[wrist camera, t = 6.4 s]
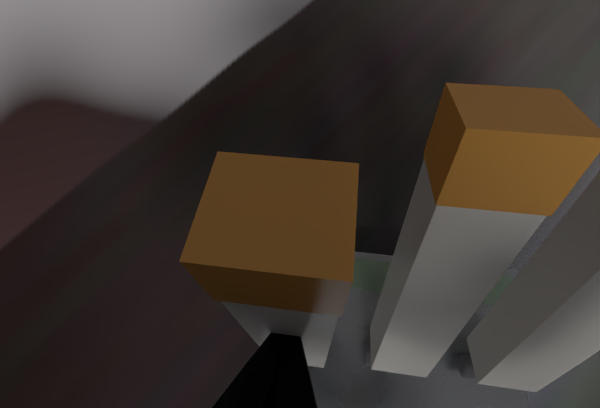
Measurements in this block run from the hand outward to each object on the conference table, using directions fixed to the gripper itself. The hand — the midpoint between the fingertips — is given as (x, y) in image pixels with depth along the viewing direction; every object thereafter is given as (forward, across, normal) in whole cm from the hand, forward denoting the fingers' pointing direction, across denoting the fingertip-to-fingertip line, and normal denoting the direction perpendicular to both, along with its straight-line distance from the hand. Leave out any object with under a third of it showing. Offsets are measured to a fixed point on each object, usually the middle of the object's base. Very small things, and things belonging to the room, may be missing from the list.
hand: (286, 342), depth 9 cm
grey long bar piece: (+5, -4, +6) cm, 9 cm away
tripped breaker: (+5, 0, +6) cm, 7 cm away
